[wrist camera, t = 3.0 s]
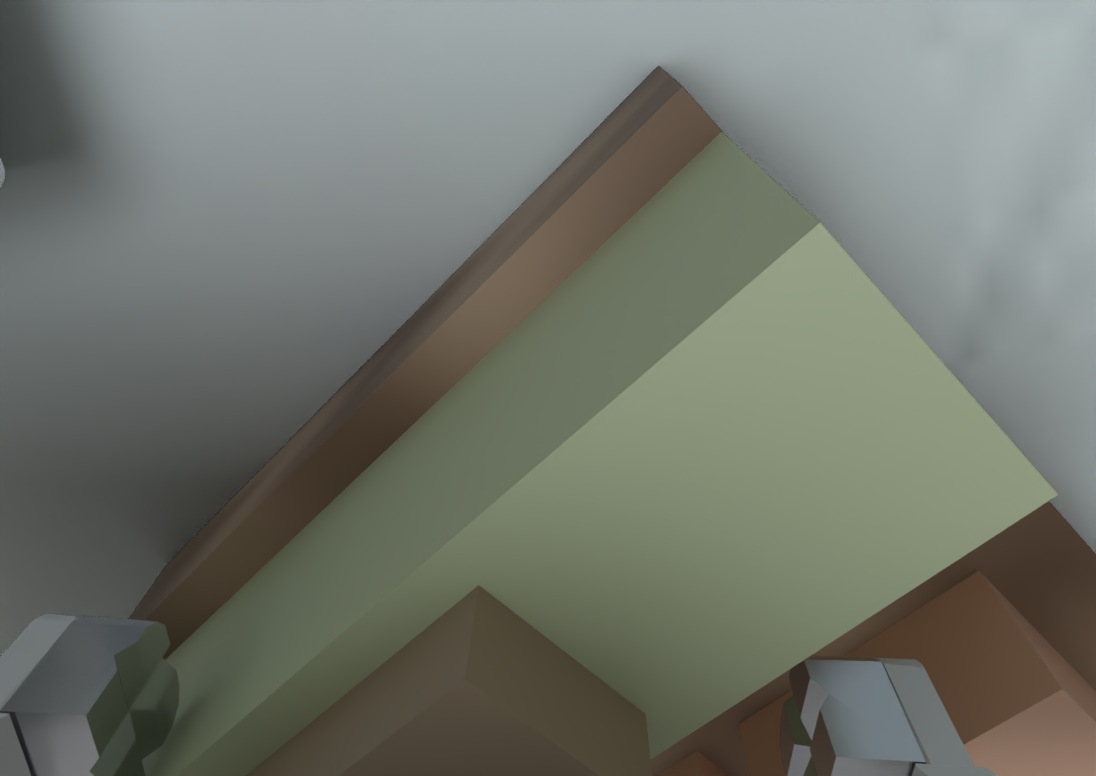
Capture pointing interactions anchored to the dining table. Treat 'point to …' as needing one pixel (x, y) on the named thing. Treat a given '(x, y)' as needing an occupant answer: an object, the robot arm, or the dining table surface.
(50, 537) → the dining table surface
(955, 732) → the robot arm
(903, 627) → the tile
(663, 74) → the brown flat block
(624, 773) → the green bar
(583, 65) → the dining table surface
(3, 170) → the mug
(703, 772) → the tile
